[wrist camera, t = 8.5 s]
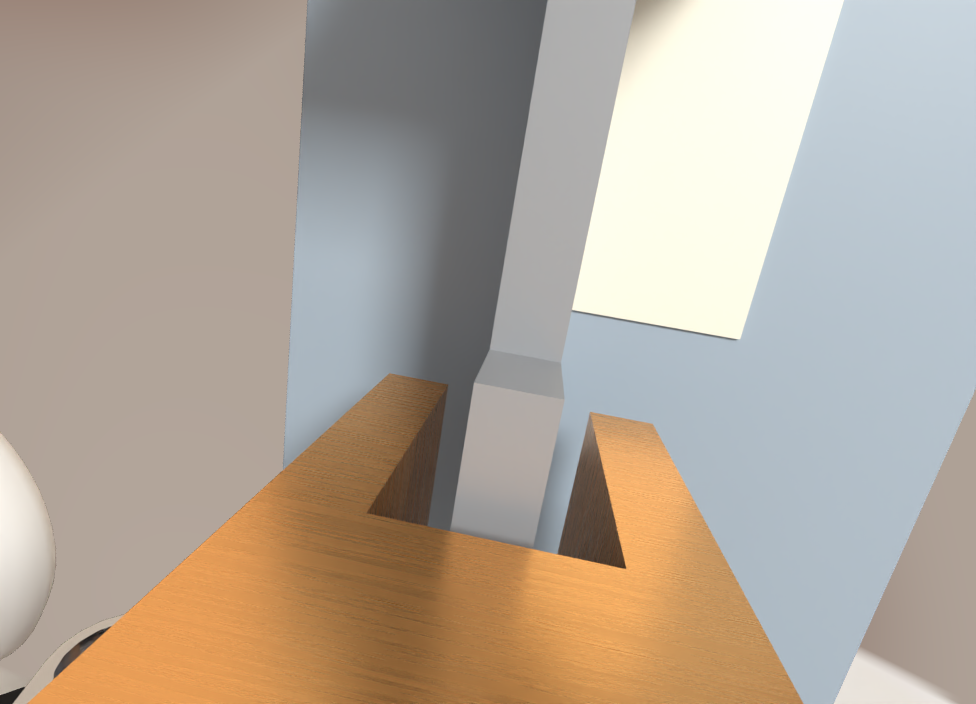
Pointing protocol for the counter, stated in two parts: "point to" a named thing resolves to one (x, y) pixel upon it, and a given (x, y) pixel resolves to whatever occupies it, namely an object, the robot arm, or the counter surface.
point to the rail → (655, 266)
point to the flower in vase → (22, 551)
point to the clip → (441, 589)
